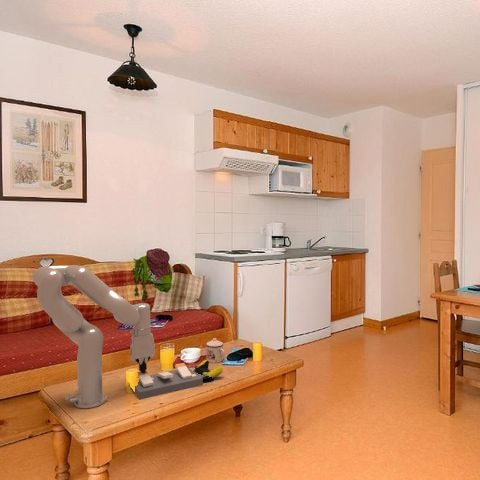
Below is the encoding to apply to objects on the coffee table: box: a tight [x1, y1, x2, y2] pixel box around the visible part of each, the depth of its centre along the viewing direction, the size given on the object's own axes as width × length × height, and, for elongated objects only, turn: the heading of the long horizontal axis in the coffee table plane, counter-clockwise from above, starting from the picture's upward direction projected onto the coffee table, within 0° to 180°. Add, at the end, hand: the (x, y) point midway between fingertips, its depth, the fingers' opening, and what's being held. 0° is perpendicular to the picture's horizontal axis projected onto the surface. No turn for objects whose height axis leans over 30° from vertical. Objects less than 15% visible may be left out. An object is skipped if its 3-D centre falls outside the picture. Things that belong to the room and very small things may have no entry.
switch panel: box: [134, 367, 204, 400], centre depth 183 cm, size 29×16×4 cm, turn 121°
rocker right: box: [174, 362, 192, 379], centre depth 187 cm, size 4×10×1 cm, turn 31°
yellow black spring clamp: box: [192, 359, 224, 379], centre depth 194 cm, size 15×6×10 cm
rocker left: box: [137, 370, 154, 387], centre depth 178 cm, size 4×10×1 cm, turn 30°
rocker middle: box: [155, 370, 173, 379], centre depth 182 cm, size 4×10×1 cm, turn 31°
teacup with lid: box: [205, 337, 226, 364], centre depth 215 cm, size 12×9×12 cm
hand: (142, 371), depth 181 cm, fingers closed
